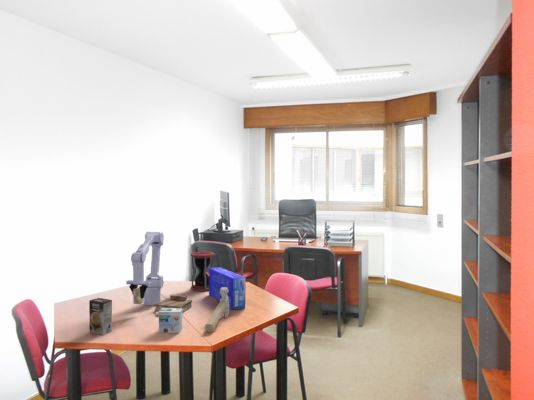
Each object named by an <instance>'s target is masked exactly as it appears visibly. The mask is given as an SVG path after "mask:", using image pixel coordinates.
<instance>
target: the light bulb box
mask: <svg viewBox="0 0 534 400" xmlns="http://www.w3.org/2000/svg"><path fill="white" fill-rule="evenodd" d="M182 330H183V313H182V308H162V309H161V310H160V311H159V316H158V334H180V333H181V332H182Z"/></svg>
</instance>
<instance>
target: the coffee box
mask: <svg viewBox="0 0 534 400" xmlns="http://www.w3.org/2000/svg"><path fill="white" fill-rule="evenodd" d="M88 304H89V333H91V334H96V335H100V336H104V335H106V334H110V333H111V332H112V331H113V300H112V299H108V298H102V297H97V298H92V299H90V300H89V302H88Z"/></svg>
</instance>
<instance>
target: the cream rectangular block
mask: <svg viewBox="0 0 534 400" xmlns="http://www.w3.org/2000/svg"><path fill="white" fill-rule="evenodd" d="M132 299H133V301H132V302H133V303H132V304H133V305H142V304H143V303H144V298H142V299H141V297H140V288H139V287H137V288H136V289H133V294H132Z"/></svg>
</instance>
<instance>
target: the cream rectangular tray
mask: <svg viewBox="0 0 534 400" xmlns="http://www.w3.org/2000/svg"><path fill="white" fill-rule="evenodd" d="M192 303H193V301H192V302H191V303H190V304H188V305H186V306H184V307H183V308H182V314H184V312H186V311H188V310H189V309H190V308H192ZM154 307H155V308H154V310H155V313H154V314H155V316H158V317H159V311H160V310H161V309H162V308H169V307H159V306H155V305H154Z"/></svg>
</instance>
